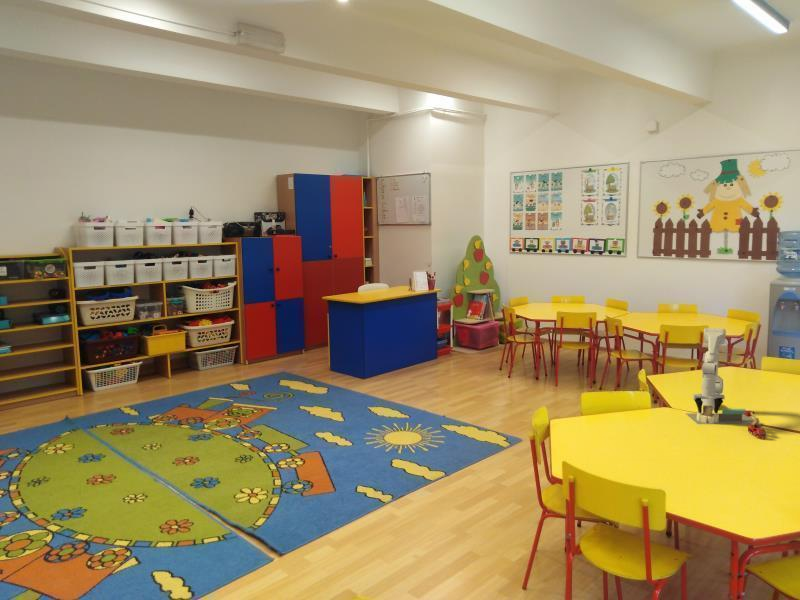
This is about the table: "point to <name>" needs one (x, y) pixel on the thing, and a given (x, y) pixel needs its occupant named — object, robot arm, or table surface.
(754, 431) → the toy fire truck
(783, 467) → the table surface
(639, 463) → the table surface
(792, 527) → the table surface
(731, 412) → the bar
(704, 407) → the peg
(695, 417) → the board
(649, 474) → the table surface
